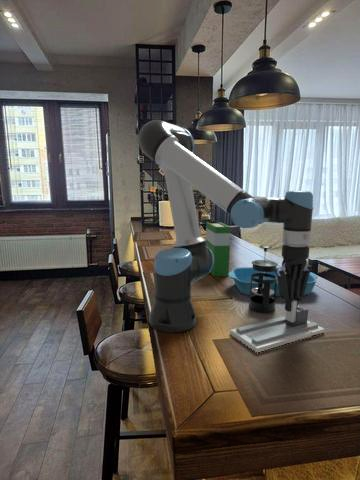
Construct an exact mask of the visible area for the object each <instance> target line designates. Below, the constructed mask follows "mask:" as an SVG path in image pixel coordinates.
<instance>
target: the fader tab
mask: <svg viewBox="0 0 360 480" xmlns="http://www.w3.org/2000/svg"><path fill="white" fill-rule="evenodd" d="M308 316H309V309H308V308H306V307H303V306H301V305H299V304H298V307H297V310H296V320H295V322H290V321H288V320H286V322H287V323H289V324H291V325H292V326H294V327H295V326H299V325H303V324H306V323H307V321H308V318H309V317H308Z"/></svg>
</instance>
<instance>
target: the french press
mask: <svg viewBox="0 0 360 480" xmlns="http://www.w3.org/2000/svg"><path fill="white" fill-rule="evenodd" d="M259 248H261V249H263V252H264V257H263V258H264V259H255V260H251V264H252V267H253V269H254V270H256V271H261V272H264V273H253V274H251V284H250V295H249V303H248V309H249V310H251V311H253V312H255V313H259V314H271V312H272V313H274V312H275V311H276V297H277V296H276V284H277V277H276V276H275V275H273V274H269V273H265V272H273V271H275V269H276V268H277V267H278V265H279V263H278V262H276V261H274V260H267V259H266V255H267V250H268V249H272V246H270V245H266V244H265V245H260V246H259ZM256 276H259V279H256V278H254V277H256ZM264 276H265V277H270V278H273V280H264ZM252 281H254V282H257V283H258V287H257V288H253V289H252ZM272 283H275V287H274V290H272V289H270V284H272ZM251 293H252V294H254V296H252V295H251ZM273 295H274V296H273Z"/></svg>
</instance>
